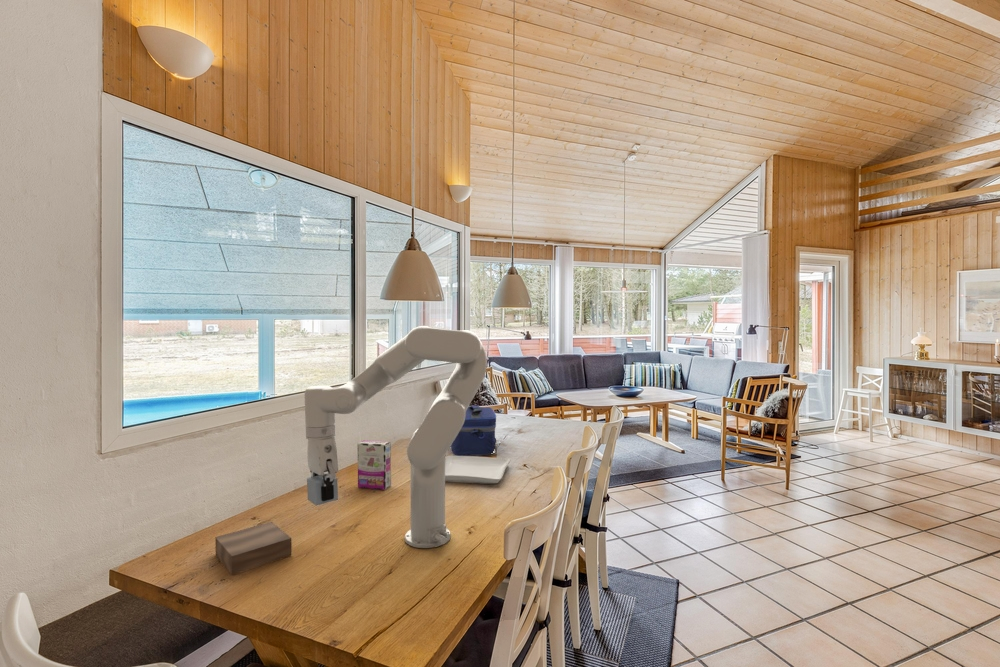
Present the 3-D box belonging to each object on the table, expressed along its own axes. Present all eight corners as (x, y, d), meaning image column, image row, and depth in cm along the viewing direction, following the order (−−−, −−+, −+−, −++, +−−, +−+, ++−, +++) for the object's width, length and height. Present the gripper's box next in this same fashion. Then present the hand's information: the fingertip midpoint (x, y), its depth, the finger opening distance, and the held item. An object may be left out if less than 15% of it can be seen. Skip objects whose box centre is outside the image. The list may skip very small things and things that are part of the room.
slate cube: (338, 499, 134) (337, 477, 133) (316, 505, 130) (315, 483, 129) (329, 494, 138) (328, 473, 138) (307, 499, 134) (306, 478, 134)
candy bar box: (391, 485, 179) (391, 441, 178) (385, 490, 174) (385, 444, 174) (364, 483, 182) (363, 439, 181) (357, 487, 177) (356, 442, 176)
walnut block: (291, 557, 126) (291, 537, 126) (232, 576, 116) (231, 556, 116) (271, 539, 136) (271, 521, 136) (215, 556, 126) (215, 537, 126)
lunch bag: (499, 457, 217) (499, 411, 216) (452, 458, 214) (452, 412, 213) (491, 440, 248) (491, 399, 247) (449, 441, 245) (449, 400, 244)
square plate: (500, 488, 178) (501, 478, 177) (428, 484, 182) (428, 474, 182) (511, 466, 204) (511, 457, 204) (447, 463, 209) (447, 454, 208)
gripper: (347, 434, 129) (349, 501, 130) (321, 424, 142) (323, 485, 143) (319, 439, 124) (321, 509, 125) (295, 428, 137) (297, 492, 138)
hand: (322, 496), depth 134 cm, fingers closed on slate cube, 6 cm apart
